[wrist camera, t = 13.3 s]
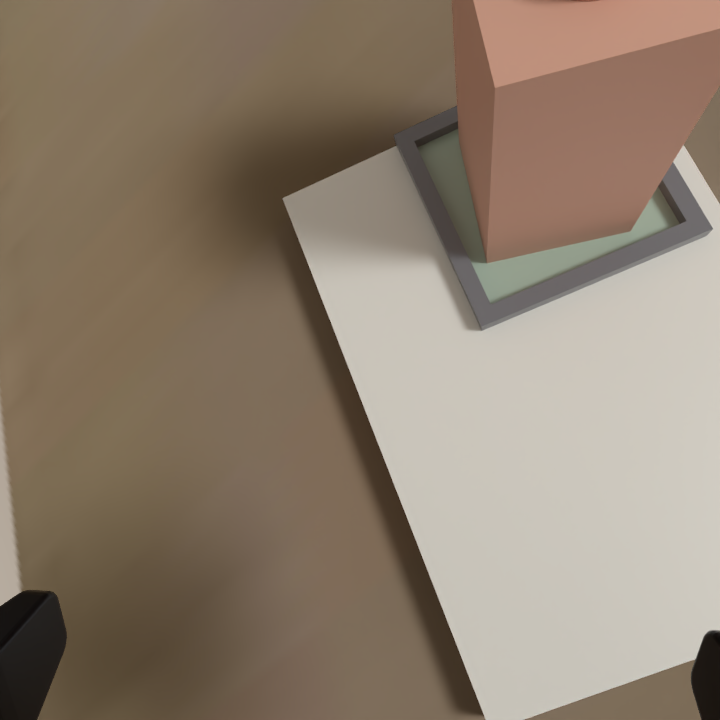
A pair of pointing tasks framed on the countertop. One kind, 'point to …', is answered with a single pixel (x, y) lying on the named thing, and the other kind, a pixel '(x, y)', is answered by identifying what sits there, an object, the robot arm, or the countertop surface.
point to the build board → (536, 415)
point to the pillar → (576, 111)
